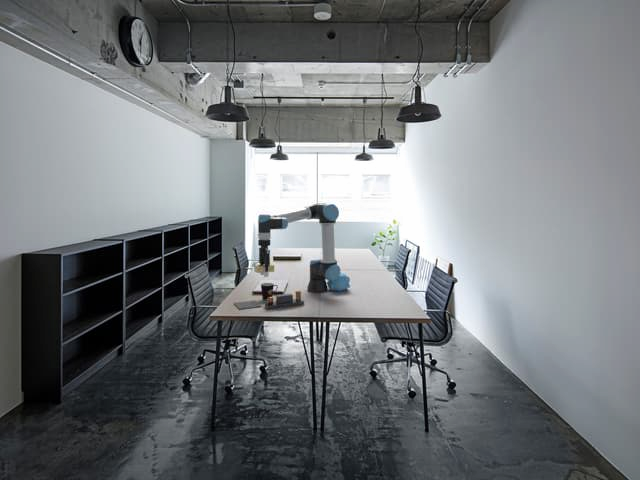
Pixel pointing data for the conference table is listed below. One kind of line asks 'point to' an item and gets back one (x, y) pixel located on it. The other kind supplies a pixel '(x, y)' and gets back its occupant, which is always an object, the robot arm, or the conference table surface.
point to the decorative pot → (339, 283)
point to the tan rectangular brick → (261, 268)
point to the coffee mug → (267, 290)
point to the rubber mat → (247, 305)
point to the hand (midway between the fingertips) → (264, 275)
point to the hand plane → (284, 301)
